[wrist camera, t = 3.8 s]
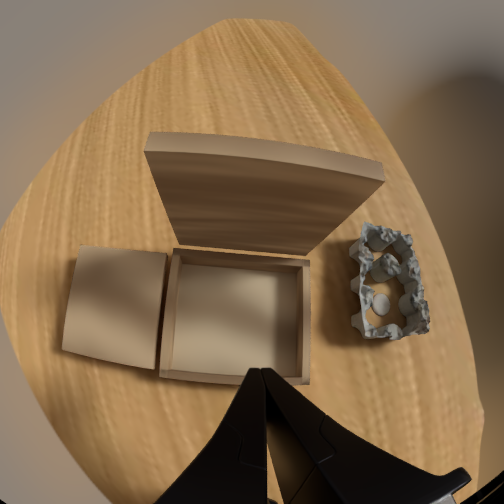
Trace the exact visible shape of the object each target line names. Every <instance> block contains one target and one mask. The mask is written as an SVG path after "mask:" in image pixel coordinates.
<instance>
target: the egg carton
mask: <svg viewBox="0 0 504 504" xmlns="http://www.w3.org/2000/svg"><path fill="white" fill-rule="evenodd" d="M366 241H367V242H368V245H369V246H370V248H371V249H372V250H374V251H376V252H380V251H382V250H383V249H385V248H386V247H387V246H388V245H390V244H392V246H393V248H394V250H395V251H396V253H398V254H399V255H401V257H402V264H400V265H399V263H398V261H397V260H396V258H395V257H394V256H392V255H390V254H389V253H386V254H384V255H382V256H381V257H380V258H378V259H377V260H376V261H374V262H373V260H374V257H373V255H372V254H371V252H370V251H368V249H369V248H368V247H365V246H363V245H364V243H365V242H366ZM412 243H413V240H412V238H411V235H409V234H408V235H403V234H401V231H393V230H392V229H390V228H385V227H383V226H373V225H372V224H370V223H367V222H364V224H363V227H362V231H361V237H360V238H359V239H358V240H357V241H356V242H355V243H354V244H353V245H352V246H351V247H350V248H349V256H350V257H351V258H353V259H355V260H356V261H357V262H358V263H359V265H360V274H359V275H358V276H357V277H355V278H354V279H352V280H351V291H353V292H355V293H357V294H358V295H359V296H360V301H361V310H360V312H359V313H357V314H355V315H352V317H351V325H352V327H356V328H357V329H359V330H360V332H361V334H362V337H363V338H364V339H372V338H377V337H388V336H389V339H393V340H400V339H401V338H403V337H405V336H410V335H411V334H418V335H419V334H426V333H427V332H428V331H429V329H430V327H429V322H430V317H429V308H428V304H427V301H425V300H424V287H423V286H422V283H421V277H420V267H419V264H418V261H417V258H416V256H415V252H414V250H413V249H412V248H411V246H412ZM372 262H373V263H372ZM369 270H370V274H371V276H372V278H373V279H374V280H375V281H376V282H379V283H382V282H385V281H386V280H388V279H390V278H392V277H394V276H396V277H397V279H398V281H399V282H400V283H401V284H403V285H404V290H405V295H403V296H401V297H400V299H399V302H398V306H399V310H400V312H401V313H402V314H403V315H404V316H406V318H407V325H406V327H404V328H403V329H402V330H401V328H400V327H398V326H397V325H395V324H388V325H385V326H382V327H379V328H377V329H376V328H375V327H374V326H372V325H371V324H369V323H368V322H367V320H366V318H365V314H366V310H368V309H369V308H370V307H371V306H372V308H373V310H374V312H375V313H376V314H377V315H379V316H384V315H386V314H387V313H388V312H389V310H390V302H389V299H388V297H387V296H386V295H384V294H382V293H379V294H376V295H375V296H374V298H373V293H374V292H375V291H374V290H373V289H371V287H370V286H368V285H363V281H364V280H365V274H366V273H367V271H369ZM363 274H364V275H363ZM362 275H363V276H362Z"/></svg>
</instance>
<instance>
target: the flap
mask: <svg viewBox="0 0 504 504" xmlns="http://www.w3.org/2000/svg"><path fill="white" fill-rule="evenodd" d="M144 153H145V156H146V159H147V162H148V165H149V167H150V170H151V173H152V176H153V178H154V181H155V184H156V187H157V189H158V192H159V195H160V197H161V200H162V203H163V205H164V208H165V210H166V213H167V215H168V218H169V220H170V223H171V225H172V228H173V230H174V233H175V235H176V238H177V240H178V243H179V245H189V246H200V247H212V248H223V249H234V250H245V251H257V252H268V253H279V254H290V255H301V256H306V255H307V254H308V253H309V252H310V251H311V250H313V249H314V248H315V247H316V246H317V245H318V244H319V243H320V242H321V241H323V240H324V239H325V238H326V237H327V236H328V235H329V234H330V233H331V232H332V231H333V230H335V229H336V228H337V227H338V226H339V225H340V224H341V223H342V222H343V221H344V220H345V219H346V218H348V217H349V216H350V215H351V214H352V213H353V212H354V211H355V210H356V209H357V208H358V207H359V206H360V205H361V204H362V203H364V202H365V201H366V200H367V199H368V198H369V197H370V196H371V195H372V194H373V193H374V192H375V191H376V190H377V189H378V188H379V187H380V186H381V185H382V184H383V183H384V182H385V176H384V171H383V166H382V163H381V162H378V161H374V160H370V159H366V158H362V157H357V156H353V155H349V154H344V153H340V152H335V151H330V150H325V149H320V148H315V147H309V146H304V145H298V144H292V143H285V142H278V141H271V140H264V139H256V138H247V137H238V136H227V135H215V134H201V133H181V132H150V133H149V136H148V139H147V142H146V145H145V149H144Z"/></svg>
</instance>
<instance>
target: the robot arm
mask: <svg viewBox="0 0 504 504" xmlns="http://www.w3.org/2000/svg"><path fill="white" fill-rule="evenodd" d="M267 444H268V448H269V452H270V455H271V459H272V463H273V466H274V470H275V474H276V477H277V481H278V485H279V488H280V492H281V495H282V499H283V502H284V504H456V502H455V500H454V497H453V494H454V493H456V492H457V491H458V490H460V489H461V488H463V487H464V486H465V485H466V484H468V483H469V482H470V481H471V480H472V478H471V477H470V475H469V474H468V472H467V471H466V470H465V469H464V468H463V467H459V468H457V469H455V470H453V471H451V472H449V473H448V474H445V475H442V476H437V475H433V474H430V473H428V472H426V471H424V470H422V469H420V468H417V467H415V466H413V465H411V464H409V463H407V462H405V461H403V460H401V459H399V458H397V457H395V456H393V455H391V454H389V453H387V452H386V451H384V450H382V449H380V448H378V447H376V446H375V445H373V444H371V443H369V442H367V441H366V440H364V439H362V438H360V437H359V436H357V435H355V434H354V433H352V432H350V431H349V430H347V429H346V428H344V427H343V426H341V425H340V424H339V423H337V422H336V421H335V420H333V419H332V418H331V417H329V416H328V415H326V414H325V413H324V412H323V411H321V410H320V409H319V408H318V407H317V406H315V405H314V404H313V403H312V402H311V401H309V400H308V399H307V398H306V397H305V396H303V395H302V394H301V393H300V392H299V391H297V390H296V389H295V388H294V387H293V386H292V385H290V384H289V383H288V382H287V381H286V380H285V379H284V378H282V377H281V376H280V375H279V374H278V373H277V372H276V371H275V370H273V369H272V368H270V367H267V368H261V369H260V368H249V369H248V371H247V373H246V375H245V377H244V379H243V381H242V383H241V385H240V387H239V389H238V391H237V393H236V395H235V397H234V399H233V400H232V402H231V404H230V406H229V408H228V410H227V412H226V414H225V416H224V418H223V420H222V421H221V423H220V425H219V426H218V428H217V430H216V431H215V433H214V435H213V436H212V438H211V439H210V440H209V442H208V443H207V444H206V446H205V447H204V448H203V449H202V451H201V452H200V453H199V454H198V455H197V456H196V458H195V459H194V460H193V461H192V462H191V463H190V465H189V466H188V467H187V468H186V469H185V470H184V471H183V472H182V474H181V475H180V476H179V477H178V478H177V479H176V480H175V481H174V482H173V483H172V485H171V486H170V487H169V488H168V489H167V490H166V491H165V492H164V493H163V494H162V495H161V496H160V497H159V498H158V499H157V500H156V501H155V502H154V503H153V504H278V502H276V501H274V500H272V499H269V498H267ZM0 504H6V503H5V502H3V501H2V500H0ZM460 504H504V471H502V472H501V473H500V474H499V475H498V476H496V477H495V478H494V479H493V480H491V482H489V483H488V484H486V485H485V486H484V487H482V488H481V489H480V490H479V491H477V492H476V493H474V494H473V495H472V496H470V497H469V498H467V499H466V500H464V501H463V502H461V503H460Z"/></svg>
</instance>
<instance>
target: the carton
mask: <svg viewBox="0 0 504 504" xmlns="http://www.w3.org/2000/svg"><path fill="white" fill-rule="evenodd" d="M167 260H168V256H167V253H159V252H148V251H138V250H127V249H117V248H107V247H97V246H87V245H80V249H79V253H78V257H77V261H76V265H75V270H74V274H73V279H72V284H71V289H70V294H69V299H68V305H67V311H66V318H65V325H64V333H63V342H62V350H66V351H69V352H73V353H77V354H80V355H84V356H88V357H93V358H97V359H101V360H106V361H110V362H115V363H120V364H125V365H131V366H136V367H142V368H148V369H155V365H156V352H157V340H158V330H159V320H160V311H161V303H162V295H163V288H164V280H165V273H166V267H167ZM310 351H311V291H310V260H305V259H293V258H281V257H270V256H259V255H247V254H236V253H225V252H213V251H202V250H191V249H180V248H173V254H172V261H171V267H170V274H169V282H168V289H167V297H166V305H165V314H164V323H163V333H162V344H161V357H160V371H159V377H164V378H171V379H179V380H187V381H197V382H207V383H220V384H237V385H241V383H242V381H243V379H244V377H245V375H246V373H247V371H248V369H249V368H260V369H261V368H267V367H270V368H272V369H273V370H275V371H276V372H277V373H278V374H279V375H280V376H281V377H282V378H284V379H285V380H286V381H287V382H288V383H289V384H290V385H310Z"/></svg>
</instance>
